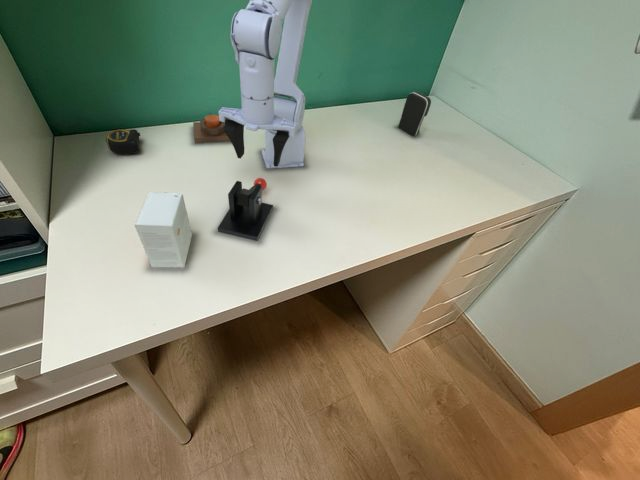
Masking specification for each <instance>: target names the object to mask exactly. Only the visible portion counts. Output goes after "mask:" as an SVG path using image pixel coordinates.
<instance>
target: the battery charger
mask: <svg viewBox="0 0 640 480" xmlns="http://www.w3.org/2000/svg"><path fill="white" fill-rule="evenodd" d="M405 99H406V100H405V102H404V105H403V109H402V114H401V117H400V120H399V123H398V126H397V128H399V129H400V130H402V131H403V132H404V133H406V134H409V135H410V136H412V137H416V136H418V135H419V133H420V128H421V126H422V124H423V121H424V119H425V117H427V116H428V113H429V110H430V109H431V108H430V107H431V105H432V100H431V97H429V96H427V95H425V94H423V93H422V92H419V91H413V92H410V93H409V94H407V97H406V98H405Z"/></svg>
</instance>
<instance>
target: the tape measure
mask: <svg viewBox="0 0 640 480" xmlns="http://www.w3.org/2000/svg"><path fill="white" fill-rule="evenodd" d="M140 137H141V132H138V130H137V129H116V130H112V131H110V132H109V133H108V134H107V135H106V138H105V143H106V146H107V147H108V149H109V150H110V152H112V153H114V154H116V155H131V154H135V153H139V152H140V149H141V148H140Z"/></svg>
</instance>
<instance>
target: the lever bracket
mask: <svg viewBox="0 0 640 480" xmlns="http://www.w3.org/2000/svg"><path fill="white" fill-rule="evenodd" d="M242 189H243V181H239V180H236V182H235V183H234V184H233V185H232V187H231V189H230V190H229V192H228V193H227V200H228V206H229V208H228V210H227V212H226V213H225V215H224V217H223V219H222V220H221V221H220V223H219V225H218V226H217V232H218V233H222V234H226V235H230V236H233V237H238V238H241V239H247V240H250V241H254V242H258V241H259V239H260V238H261V235H262V233H263V231H264V229H265V227H266V225H267V222H268V221H269V218H270V216H271V214H272V213H273V209H274V204H271V203H266V202H263V191H262V186H258V185H257V186H256V188H255V189H254V191H253V193H252V195H251V196H250V198H249V206H248V207H246V206H242V205H238V204H237V199H238V192H240V191H241V190H242Z"/></svg>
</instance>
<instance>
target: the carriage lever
mask: <svg viewBox="0 0 640 480" xmlns="http://www.w3.org/2000/svg"><path fill="white" fill-rule="evenodd" d="M257 185H258V186H262V192H263V191H265V190H266V189H267V186H268V183H267V180H266V179H265V178H263V177H257V178H255V180H254V181H253V185H252V186H251V187H250V188H249V189H248V188H242V190H241V191H240V192H238V199H237V204H238V205H242V206H246V207H248V206H249V198H250V196H251V195H252V193H253V191H254V189H255V188H256V186H257Z"/></svg>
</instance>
